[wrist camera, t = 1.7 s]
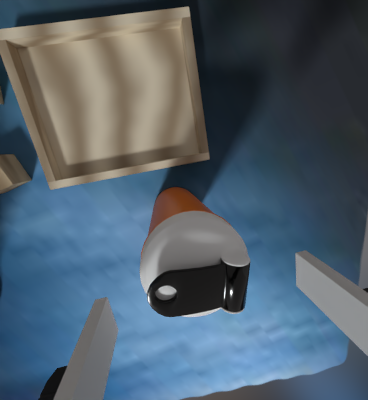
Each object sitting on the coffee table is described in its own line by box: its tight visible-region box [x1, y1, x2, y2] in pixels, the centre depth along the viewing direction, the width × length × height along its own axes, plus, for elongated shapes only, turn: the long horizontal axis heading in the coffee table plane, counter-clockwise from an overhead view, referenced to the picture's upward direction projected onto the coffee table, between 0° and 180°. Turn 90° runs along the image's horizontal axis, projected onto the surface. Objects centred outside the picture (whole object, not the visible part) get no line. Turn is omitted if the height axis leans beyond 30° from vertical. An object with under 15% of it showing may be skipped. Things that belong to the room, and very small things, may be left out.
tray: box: [0, 7, 210, 190], centre depth 26 cm, size 22×18×3 cm
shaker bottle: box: [140, 187, 250, 317], centre depth 23 cm, size 9×9×20 cm
